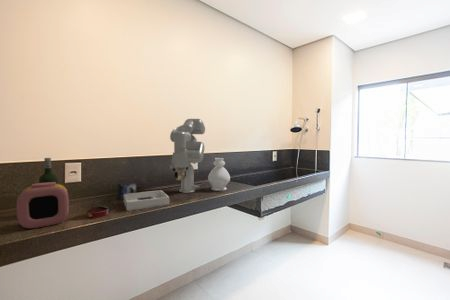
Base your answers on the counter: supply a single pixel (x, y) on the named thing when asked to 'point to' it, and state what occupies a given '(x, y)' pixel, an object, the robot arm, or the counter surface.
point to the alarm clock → (42, 205)
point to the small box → (126, 189)
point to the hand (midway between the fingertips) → (180, 177)
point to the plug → (181, 174)
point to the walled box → (145, 200)
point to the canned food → (97, 211)
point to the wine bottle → (48, 173)
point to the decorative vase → (219, 175)
